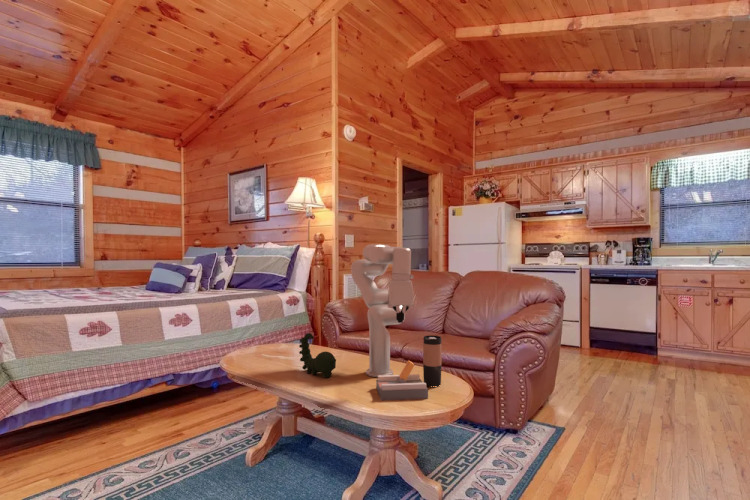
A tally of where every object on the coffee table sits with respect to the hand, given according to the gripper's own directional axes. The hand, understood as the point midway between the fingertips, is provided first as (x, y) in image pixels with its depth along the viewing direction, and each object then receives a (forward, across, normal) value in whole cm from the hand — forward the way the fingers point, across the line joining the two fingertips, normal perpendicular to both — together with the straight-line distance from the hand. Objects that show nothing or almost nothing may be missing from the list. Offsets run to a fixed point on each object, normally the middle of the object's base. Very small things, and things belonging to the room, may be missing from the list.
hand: (400, 322), depth 165 cm
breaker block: (+27, 0, +7) cm, 28 cm away
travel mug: (+27, -15, -2) cm, 31 cm away
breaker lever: (+23, +1, +7) cm, 24 cm away
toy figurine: (+29, +34, -21) cm, 49 cm away
